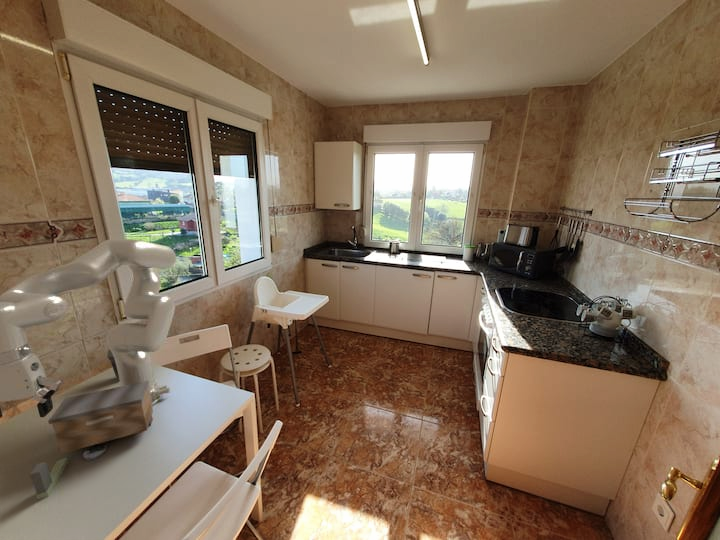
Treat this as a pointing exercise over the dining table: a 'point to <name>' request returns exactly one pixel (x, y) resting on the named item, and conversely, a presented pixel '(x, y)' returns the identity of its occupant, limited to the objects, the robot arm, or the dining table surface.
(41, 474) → the scraper tool
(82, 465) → the dining table surface
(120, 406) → the walnut cabinet
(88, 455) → the grey rounded piece
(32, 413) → the dining table surface
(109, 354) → the beverage cup
